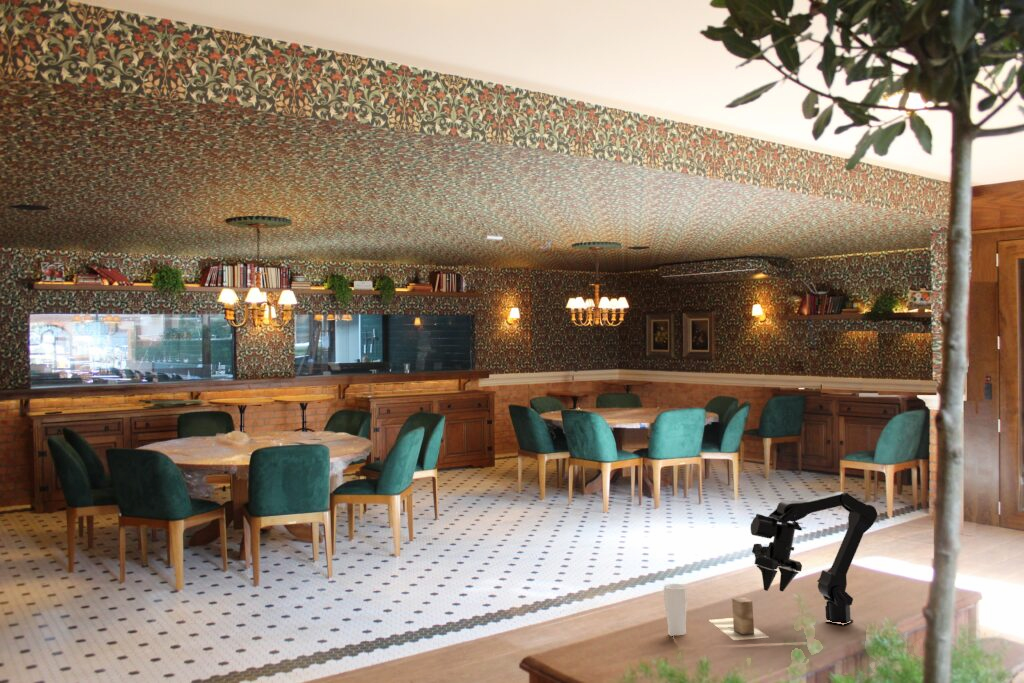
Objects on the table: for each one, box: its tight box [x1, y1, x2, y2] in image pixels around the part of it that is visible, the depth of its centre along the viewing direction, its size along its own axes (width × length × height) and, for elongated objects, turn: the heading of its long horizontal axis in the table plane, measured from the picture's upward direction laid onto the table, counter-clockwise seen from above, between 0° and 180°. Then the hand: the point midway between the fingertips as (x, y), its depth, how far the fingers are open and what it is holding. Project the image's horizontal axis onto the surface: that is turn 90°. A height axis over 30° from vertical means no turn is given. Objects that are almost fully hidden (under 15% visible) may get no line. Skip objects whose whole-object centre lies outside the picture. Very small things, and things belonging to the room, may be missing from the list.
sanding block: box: [731, 596, 755, 636], centre depth 260 cm, size 4×5×10 cm
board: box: [708, 617, 770, 641], centre depth 265 cm, size 22×11×1 cm, turn 7°
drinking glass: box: [663, 583, 688, 638], centre depth 263 cm, size 7×7×15 cm
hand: (773, 590), depth 267 cm, fingers open, 9 cm apart
